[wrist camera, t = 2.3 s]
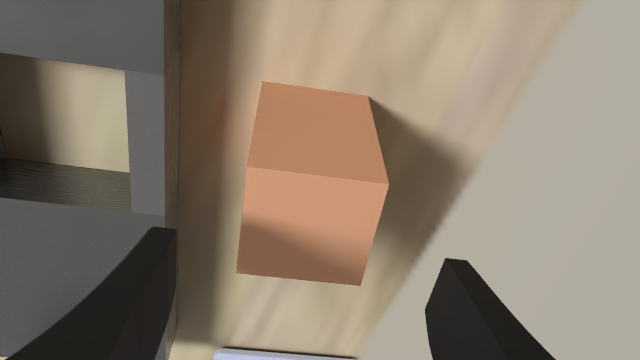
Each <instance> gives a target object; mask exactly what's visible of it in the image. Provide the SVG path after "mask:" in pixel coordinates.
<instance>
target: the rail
mask: <svg viewBox="0 0 640 360" xmlns="http://www.w3.org/2000/svg"><path fill="white" fill-rule="evenodd" d="M180 31H181V0H0V53H6V54H14V55H21V56H28V57H35V58H42V59H49V60H56V61H64V62H71V63H78V64H85V65H92V66H99V67H106V68H113V69H121V70H125V86H126V106H127V126H128V146H129V166H130V173H123V172H114V171H106V170H98V169H89V168H81V167H72V166H64V165H56V164H47V163H39V162H30V161H22V160H14V159H6V157H5V152H4V147H3V142H2V137H1V132H0V357H10V356H11V355H13V354H14V353H16V352H17V351H19V350H20V349H21V348H23V347H24V346H25V345H27V344H28V343H30V342H31V341H32V340H34V339H35V338H36V337H38V336H39V335H41V334H42V333H43V332H44V331H46V330H47V329H48V328H50V327H51V326H52V325H53V324H55V323H56V322H57V321H58V320H60V319H61V318H62V317H63V316H64V315H66V314H67V313H68V312H69V311H70V310H71V309H73V308H74V307H75V306H76V305H77V304H78V303H79V302H80V301H81V300H82V299H84V298H85V297H86V296H87V295H88V294H89V293H90V292H91V291H92V290H93V289H94V288H95V287H96V286H98V285H99V284H100V283H101V282H102V281H103V280H104V279H105V278H106V277H107V275H108V274H109V273H110V272H111V271H112V270H113V269H114V268H115V267H116V266H117V265H118V264H119V263H120V262H121V261H122V260H123V259H124V258H125V256H126V255H127V254H128V253H129V252H130V251H131V250H132V249H133V247H134V246H135V245H136V244H137V243H138V242H139V240H140V239H141V238H142V237H143V236H144V234H145V233H146V232H147V230H148V229H150V228H151V227H153V226H154V227H163V228H172V229H177V269H176V289H175V294H174V298H173V303H172V307H171V311H170V315H169V320H168V323H167V326H166V329H165V332H164V334H163V337H162V340H161V343H160V346H159V349H158V351H157V354H156V357H155V360H168V359H169V355H170V351H171V348H172V344H173V340H174V336H175V333H176V329H177V273H178V192H179V112H180Z"/></svg>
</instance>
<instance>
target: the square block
mask: <svg viewBox="0 0 640 360" xmlns="http://www.w3.org/2000/svg"><path fill="white" fill-rule="evenodd" d="M388 187H389V181H388V177H387V173H386V169H385V165H384V161H383V157H382V152H381V148H380V144H379V140H378V136H377V132H376V128H375V123H374V119H373V115H372V111H371V107H370V103H369V99H368V96H363V95H356V94H349V93H342V92H335V91H328V90H321V89H314V88H307V87H300V86H293V85H286V84H279V83H272V82H265V81H263V82H262V87H261V92H260V98H259V103H258V109H257V114H256V119H255V125H254V130H253V136H252V141H251V146H250V152H249V157H248V163H247V169H246V179H245V190H244V200H243V210H242V220H241V230H240V240H239V250H238V260H237V270H236V273H240V274H250V275H260V276H270V277H279V278H289V279H299V280H309V281H318V282H328V283H338V284H348V285H358V286H360V285H361V282H362V278H363V275H364V271H365V268H366V264H367V261H368V257H369V254H370V250H371V247H372V243H373V240H374V236H375V233H376V229H377V226H378V222H379V219H380V215H381V212H382V208H383V205H384V201H385V198H386V194H387V191H388Z"/></svg>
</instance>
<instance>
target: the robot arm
mask: <svg viewBox="0 0 640 360" xmlns="http://www.w3.org/2000/svg"><path fill="white" fill-rule="evenodd" d="M176 269H177V229H172V228H163V227H154V226H153V227H151V228H150V229H148V230H147V232H146V233H145V234H144V236H143V237H142V238H141V239H140V240H139V242H138V243H137V244H136V245H135V246H134V247H133V249H132V250H131V251H130V252H129V253H128V254H127V255H126V256H125V258H124V259H123V260H122V261H121V262H120V263H119V264H118V265H117V266H116V267H115V268H114V269H113V270H112V271H111V272H110V273H109V274H108V275H107V277H106V278H105V279H104V280H103V281H102V282H101V283H100V284H99V285H98V286H96V287H95V288H94V289H93V290H92V291H91V292H90V293H89V294H88V295H87V296H86V297H85V298H84V299H82V300H81V301H80V302H79V303H78V304H77V305H76V306H75V307H74V308H73V309H71V310H70V311H69V312H68V313H67V314H66V315H64V316H63V317H62V318H61V319H60V320H58V321H57V322H56V323H55V324H53V325H52V326H51V327H50V328H48V329H47V330H46V331H44V332H43V333H42V334H41V335H39V336H38V337H36V338H35V339H34V340H32V341H31V342H30V343H28V344H27V345H25V346H24V347H23V348H21V349H20V350H19V351H17V352H16V353H14V354H13V355H11V356H10V357H8V358H7V359H5V360H155V357H156V354H157V351H158V349H159V346H160V343H161V340H162V337H163V334H164V332H165V329H166V326H167V323H168V320H169V315H170V311H171V307H172V303H173V298H174V294H175V289H176ZM425 315H426V324H427V332H428V339H429V345H430V350H431V354H432V358H433V360H556V359H554V358H553V357H552V356H551V355H550V354H549V353H548V352H547V351H546V350H545V349H544V348H543V347H542V346H541V345H540V343H538V341H537V340H536V339H535V338H534V337H533V336H532V335H531V334H530V333H529V332H528V331H527V330H526V329H525V328H524V327H523V325H521V323H520V322H519V321H518V320H517V319H516V318H515V317H514V315H513V314H512V313H511V312H510V311H509V310H508V309H507V307H506V306H505V305H504V304H503V303H502V302H501V301H500V299H499V298H498V297H497V296H496V294H495V293H494V292H493V291H492V290H491V289H490V287H489V286H488V285H487V284H486V283H485V281H484V280H483V279H482V278H481V276H480V275H479V274H478V273H477V272H476V270H475V269H474V268H473V267H472V266H471V265H470V263H469V262H468V261H466V260H457V259H449V258H445V260H444V263H443V265H442V268H441V270H440V273H439V276H438V278H437V280H436V283H435V286H434V288H433V291H432V293H431V296H430V298H429V301H428V303H427V306H426V308H425ZM213 360H355V359H345V358H333V357H321V356H309V355H297V354H286V353H274V352H262V351H250V350H238V349H227V348H221V349H218V350H216V351H215V353H214V357H213Z"/></svg>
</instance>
